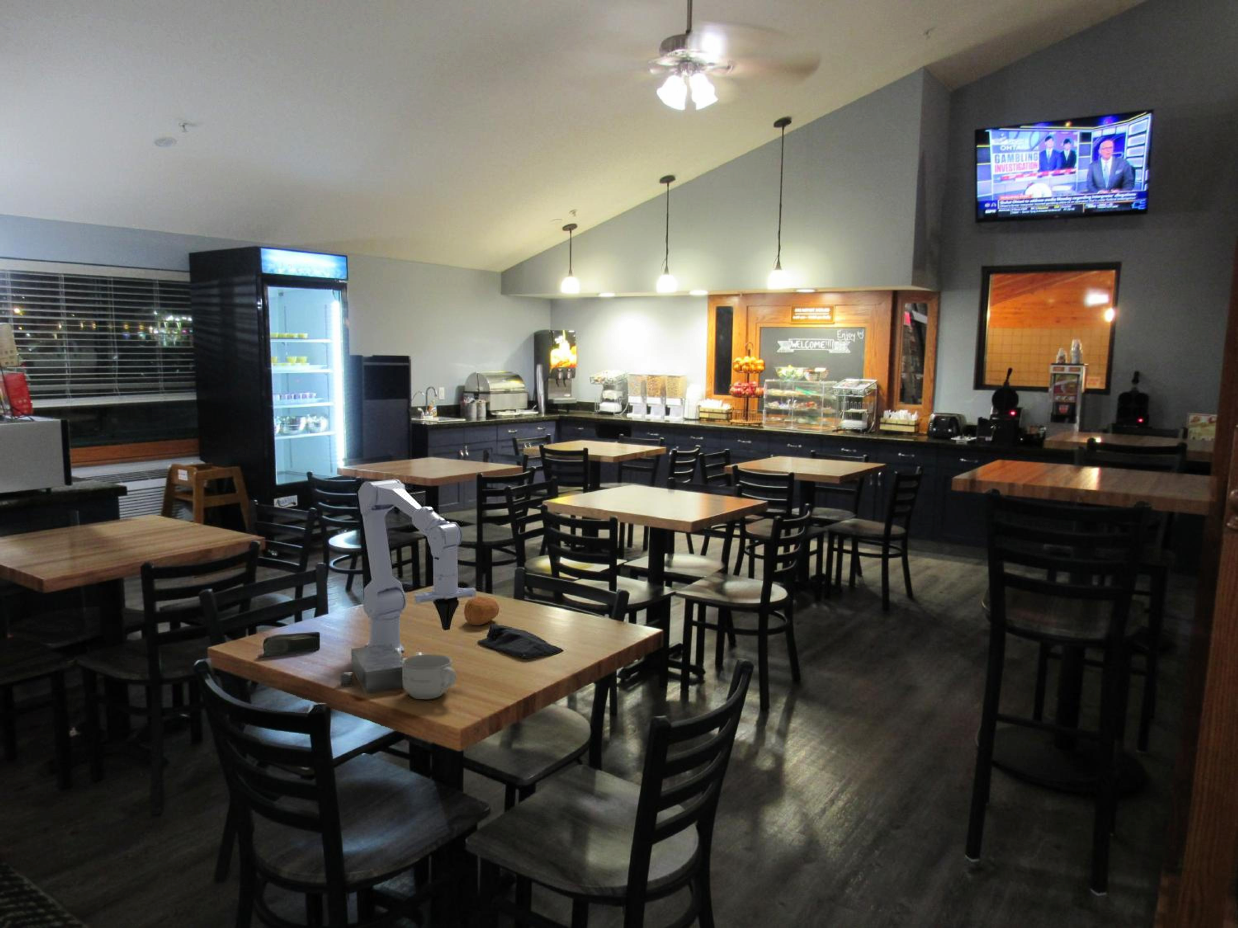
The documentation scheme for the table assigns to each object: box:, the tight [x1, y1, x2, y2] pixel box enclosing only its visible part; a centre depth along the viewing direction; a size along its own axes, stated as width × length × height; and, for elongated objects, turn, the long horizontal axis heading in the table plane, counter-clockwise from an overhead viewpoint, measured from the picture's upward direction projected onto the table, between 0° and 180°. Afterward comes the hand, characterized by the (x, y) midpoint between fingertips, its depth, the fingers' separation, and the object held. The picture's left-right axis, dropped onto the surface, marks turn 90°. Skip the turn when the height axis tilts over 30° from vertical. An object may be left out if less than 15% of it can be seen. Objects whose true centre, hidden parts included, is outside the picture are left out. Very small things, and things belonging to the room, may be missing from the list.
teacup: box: [402, 654, 457, 700], centre depth 187 cm, size 14×11×8 cm
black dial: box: [339, 671, 354, 687], centre depth 194 cm, size 3×3×3 cm
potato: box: [463, 595, 500, 626], centre depth 244 cm, size 9×11×8 cm
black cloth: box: [477, 623, 564, 659], centre depth 223 cm, size 15×22×5 cm
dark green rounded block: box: [257, 631, 321, 658], centre depth 216 cm, size 5×3×15 cm
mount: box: [350, 644, 404, 694], centre depth 199 cm, size 18×10×5 cm, turn 27°
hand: (446, 628), depth 204 cm, fingers closed
